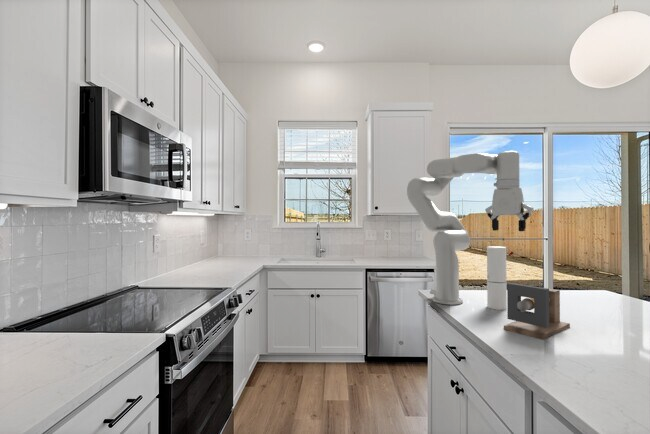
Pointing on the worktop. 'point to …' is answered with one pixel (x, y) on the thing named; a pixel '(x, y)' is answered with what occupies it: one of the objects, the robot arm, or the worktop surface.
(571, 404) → the worktop surface
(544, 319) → the dark grey square plate
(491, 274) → the cylindrical container
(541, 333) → the pipe mount
